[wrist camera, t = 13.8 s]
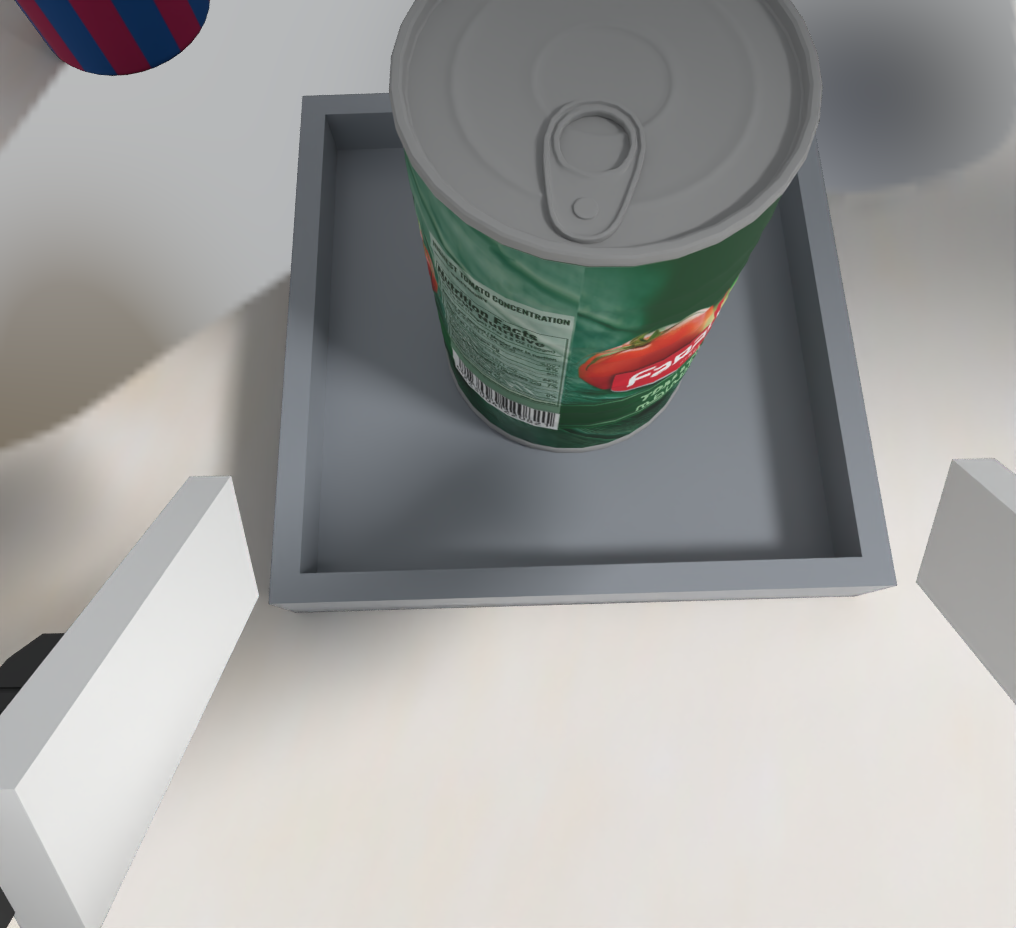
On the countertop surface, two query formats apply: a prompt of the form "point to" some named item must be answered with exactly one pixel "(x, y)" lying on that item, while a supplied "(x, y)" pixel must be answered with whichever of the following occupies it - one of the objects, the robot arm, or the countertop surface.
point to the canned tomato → (593, 191)
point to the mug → (116, 31)
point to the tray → (543, 474)
